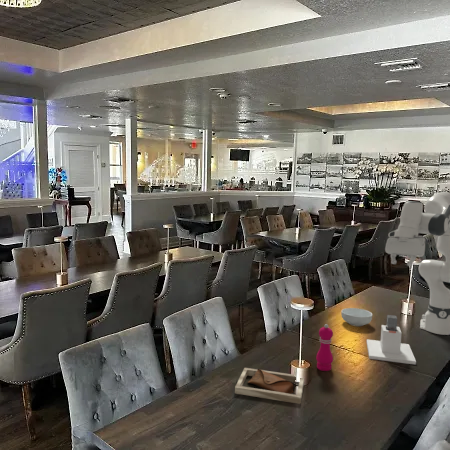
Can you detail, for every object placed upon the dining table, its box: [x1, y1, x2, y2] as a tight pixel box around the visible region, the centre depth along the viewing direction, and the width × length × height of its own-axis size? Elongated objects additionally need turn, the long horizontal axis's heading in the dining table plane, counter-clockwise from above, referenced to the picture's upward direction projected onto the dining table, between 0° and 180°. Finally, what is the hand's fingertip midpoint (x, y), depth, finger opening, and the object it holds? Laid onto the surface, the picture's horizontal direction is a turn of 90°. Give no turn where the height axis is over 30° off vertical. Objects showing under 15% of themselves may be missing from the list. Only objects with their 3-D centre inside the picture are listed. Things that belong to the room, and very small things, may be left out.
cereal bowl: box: [340, 307, 373, 327], centre depth 237 cm, size 17×17×7 cm
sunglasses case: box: [247, 368, 296, 394], centre depth 164 cm, size 18×7×7 cm, turn 51°
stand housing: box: [365, 324, 417, 365], centre depth 198 cm, size 20×20×12 cm
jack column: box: [386, 314, 398, 331], centre depth 198 cm, size 4×4×16 cm
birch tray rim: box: [234, 367, 305, 405], centre depth 164 cm, size 17×25×2 cm
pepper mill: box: [315, 323, 334, 372], centre depth 181 cm, size 7×7×20 cm
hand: (401, 264), depth 187 cm, fingers open, 8 cm apart
